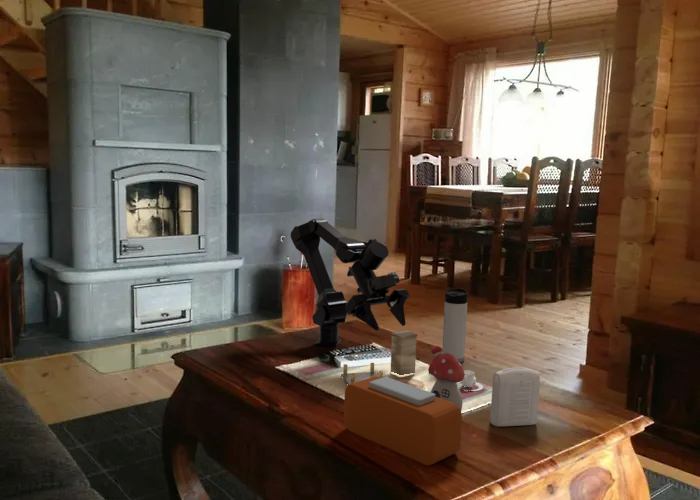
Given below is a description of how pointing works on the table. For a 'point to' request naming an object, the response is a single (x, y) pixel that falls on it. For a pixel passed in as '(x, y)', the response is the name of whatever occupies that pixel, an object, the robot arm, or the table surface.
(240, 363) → the table surface
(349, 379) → the pin base
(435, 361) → the decorative ornament
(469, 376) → the teacup and saucer
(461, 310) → the travel mug
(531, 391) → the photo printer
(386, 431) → the alarm clock
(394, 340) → the wooden block
